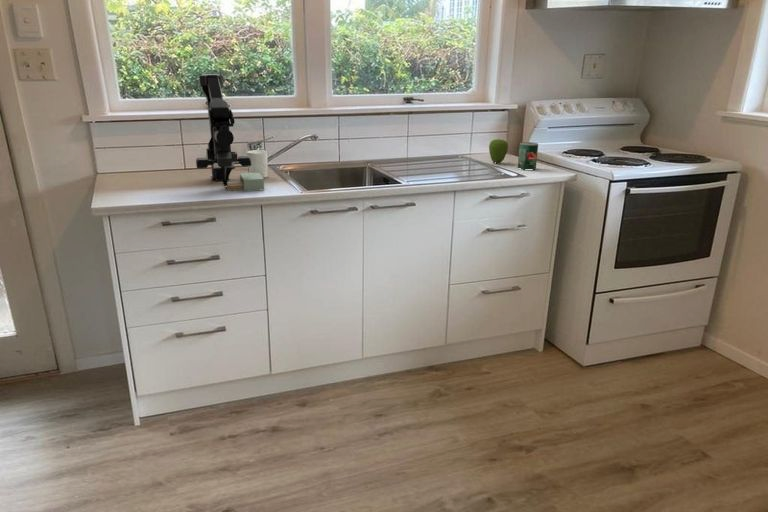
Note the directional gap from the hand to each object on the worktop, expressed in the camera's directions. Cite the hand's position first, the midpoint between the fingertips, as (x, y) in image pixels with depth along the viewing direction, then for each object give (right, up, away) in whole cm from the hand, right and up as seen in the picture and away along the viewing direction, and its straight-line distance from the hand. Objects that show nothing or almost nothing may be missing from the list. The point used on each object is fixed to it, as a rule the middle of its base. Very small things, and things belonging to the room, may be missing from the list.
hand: (225, 185), depth 212 cm
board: (+5, -1, +2) cm, 6 cm away
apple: (+109, +17, +56) cm, 124 cm away
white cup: (+8, +6, +21) cm, 23 cm away
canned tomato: (+120, +13, +44) cm, 129 cm away
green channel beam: (+9, 0, +3) cm, 10 cm away
